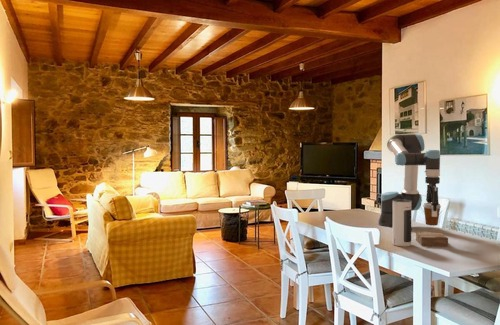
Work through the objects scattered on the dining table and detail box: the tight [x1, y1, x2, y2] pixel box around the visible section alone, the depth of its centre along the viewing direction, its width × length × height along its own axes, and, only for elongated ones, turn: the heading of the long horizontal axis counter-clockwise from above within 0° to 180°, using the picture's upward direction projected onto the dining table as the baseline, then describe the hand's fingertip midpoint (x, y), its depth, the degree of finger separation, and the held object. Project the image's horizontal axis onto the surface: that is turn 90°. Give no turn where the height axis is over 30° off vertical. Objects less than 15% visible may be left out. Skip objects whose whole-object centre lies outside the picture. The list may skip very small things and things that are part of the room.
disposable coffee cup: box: [422, 202, 442, 227], centre depth 238 cm, size 10×10×12 cm
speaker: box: [392, 199, 412, 248], centre depth 236 cm, size 11×10×26 cm
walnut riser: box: [415, 231, 449, 248], centre depth 239 cm, size 14×14×5 cm
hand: (431, 215), depth 238 cm, fingers closed on disposable coffee cup, 9 cm apart
